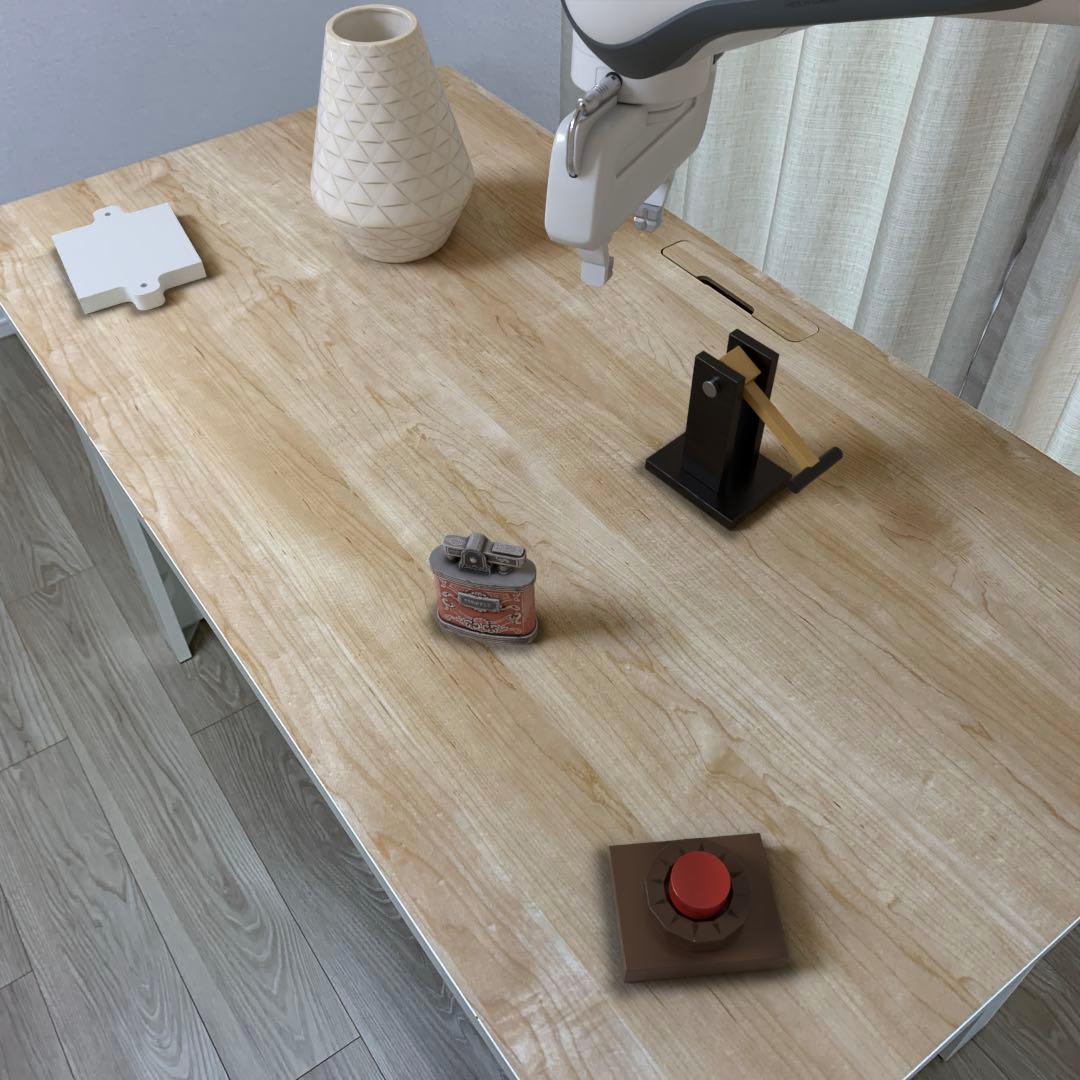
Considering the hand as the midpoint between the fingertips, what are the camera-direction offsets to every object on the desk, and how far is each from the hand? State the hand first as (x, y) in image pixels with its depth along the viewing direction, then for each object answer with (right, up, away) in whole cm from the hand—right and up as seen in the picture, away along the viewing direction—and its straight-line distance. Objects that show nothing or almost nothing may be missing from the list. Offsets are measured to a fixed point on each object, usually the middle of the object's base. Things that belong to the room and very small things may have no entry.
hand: (622, 253), depth 76 cm
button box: (+4, -45, -8) cm, 46 cm away
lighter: (-10, -27, +7) cm, 30 cm away
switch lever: (+12, -11, +8) cm, 18 cm away
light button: (+4, -42, -11) cm, 44 cm away
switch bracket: (+10, -15, +17) cm, 24 cm away
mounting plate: (-51, +9, +38) cm, 64 cm away
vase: (-22, +13, +41) cm, 48 cm away
